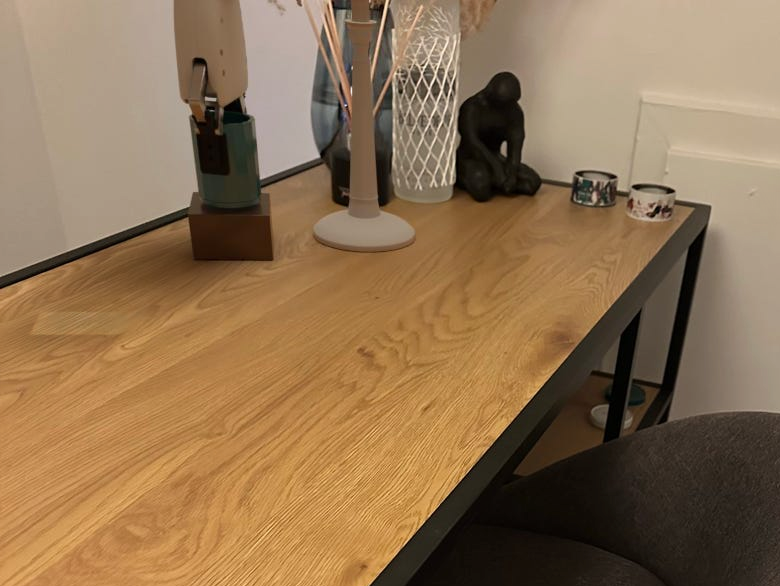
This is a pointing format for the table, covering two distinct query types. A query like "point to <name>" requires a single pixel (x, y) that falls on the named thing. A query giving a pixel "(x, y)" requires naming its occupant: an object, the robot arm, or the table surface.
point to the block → (231, 231)
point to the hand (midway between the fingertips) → (226, 163)
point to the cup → (232, 165)
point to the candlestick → (362, 163)
